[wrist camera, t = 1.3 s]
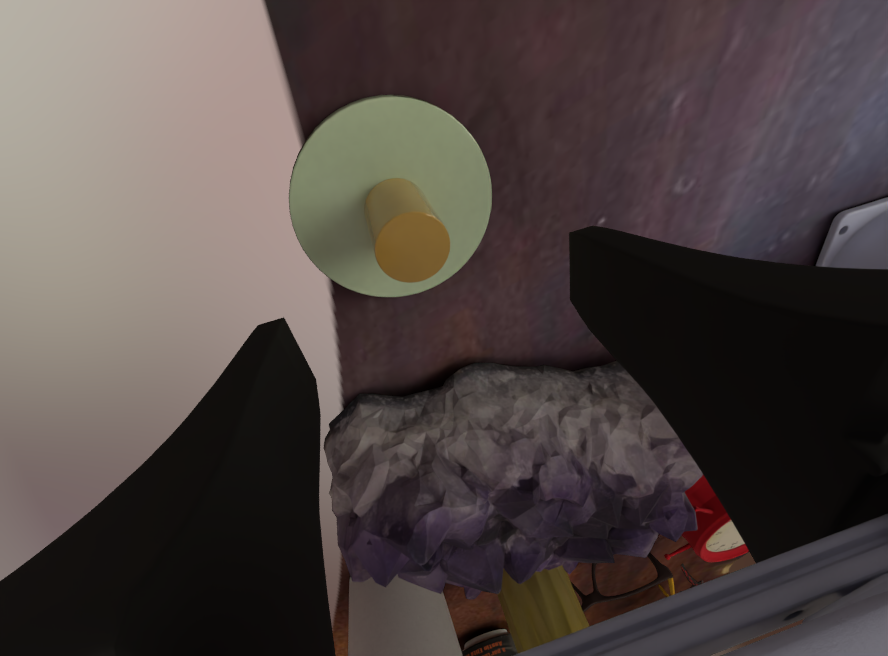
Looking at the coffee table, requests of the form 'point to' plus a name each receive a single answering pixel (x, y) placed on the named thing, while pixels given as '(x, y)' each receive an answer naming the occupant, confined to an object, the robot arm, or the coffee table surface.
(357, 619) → the coffee cup
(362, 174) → the lid
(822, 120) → the coffee table surface
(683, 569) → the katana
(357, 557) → the geode
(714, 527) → the alarm clock
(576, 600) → the vase
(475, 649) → the beverage can
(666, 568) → the eyeglasses
